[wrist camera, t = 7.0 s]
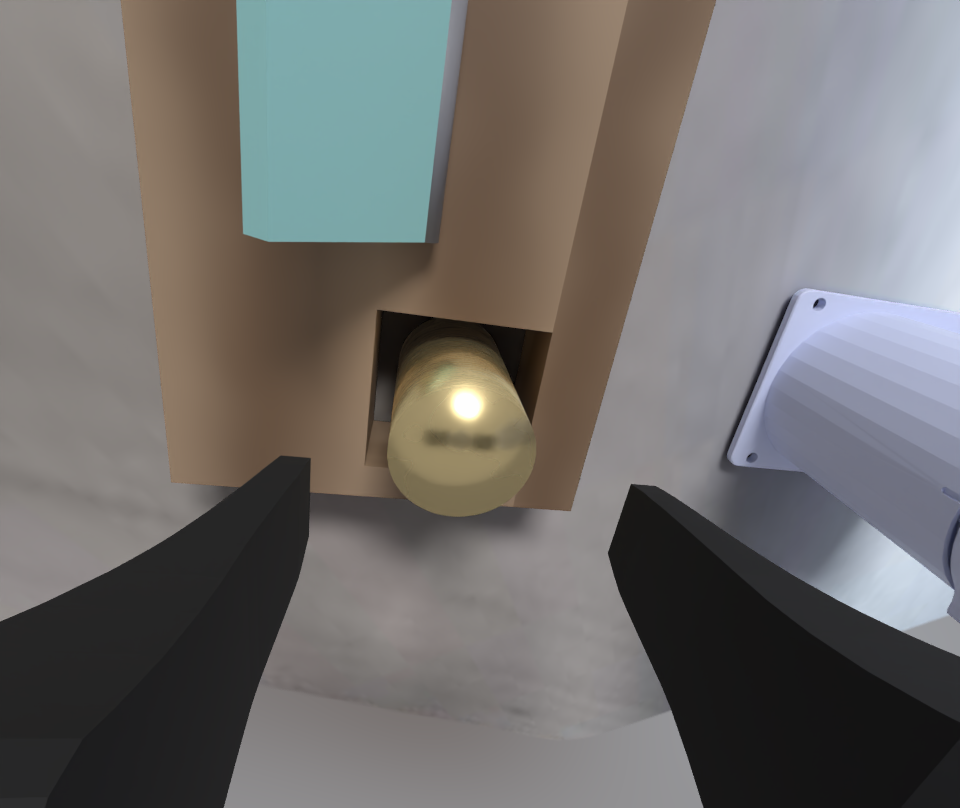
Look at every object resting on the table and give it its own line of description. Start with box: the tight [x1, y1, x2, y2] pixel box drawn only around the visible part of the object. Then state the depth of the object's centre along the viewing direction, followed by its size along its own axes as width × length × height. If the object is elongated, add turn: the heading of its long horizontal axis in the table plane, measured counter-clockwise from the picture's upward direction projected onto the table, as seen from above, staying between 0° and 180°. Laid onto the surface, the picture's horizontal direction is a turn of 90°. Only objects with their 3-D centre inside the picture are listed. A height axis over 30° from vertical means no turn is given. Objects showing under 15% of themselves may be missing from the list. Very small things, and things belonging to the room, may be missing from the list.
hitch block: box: [121, 0, 716, 511], centre depth 16 cm, size 14×16×4 cm
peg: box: [387, 317, 536, 517], centre depth 16 cm, size 4×4×7 cm
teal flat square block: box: [236, 0, 468, 243], centre depth 11 cm, size 6×6×1 cm
